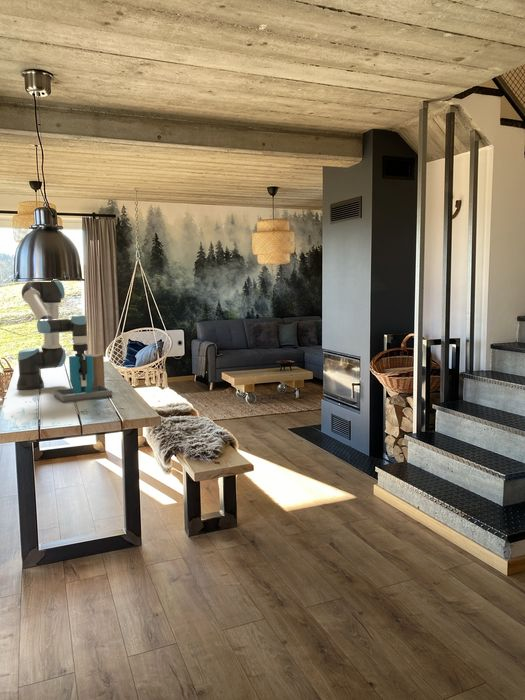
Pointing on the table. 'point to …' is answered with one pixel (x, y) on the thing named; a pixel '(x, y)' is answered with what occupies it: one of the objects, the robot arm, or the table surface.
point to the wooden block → (98, 369)
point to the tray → (82, 394)
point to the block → (74, 374)
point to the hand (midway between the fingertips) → (82, 385)
